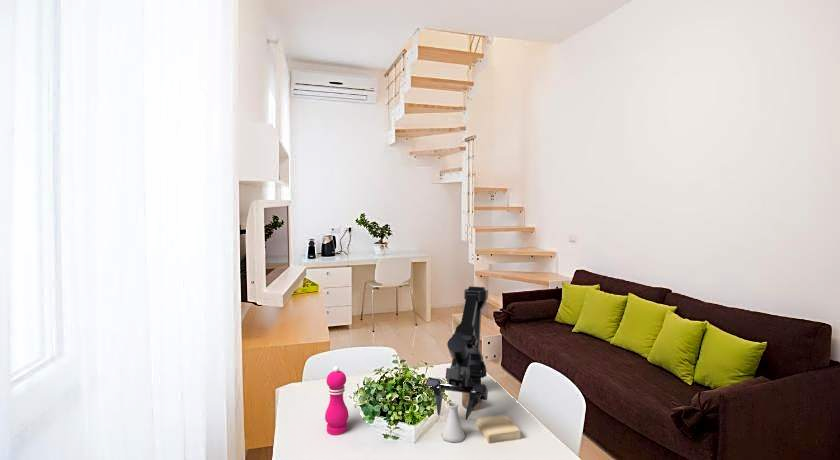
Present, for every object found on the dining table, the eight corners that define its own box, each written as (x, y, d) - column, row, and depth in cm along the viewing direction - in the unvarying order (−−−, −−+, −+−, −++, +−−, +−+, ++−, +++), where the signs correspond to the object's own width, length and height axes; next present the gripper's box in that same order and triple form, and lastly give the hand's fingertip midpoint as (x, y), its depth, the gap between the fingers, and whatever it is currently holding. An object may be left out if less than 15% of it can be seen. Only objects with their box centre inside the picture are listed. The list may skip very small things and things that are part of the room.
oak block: (476, 427, 129) (476, 418, 129) (505, 423, 131) (505, 414, 131) (489, 445, 119) (489, 435, 119) (520, 440, 122) (520, 430, 122)
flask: (464, 444, 119) (464, 411, 118) (439, 441, 120) (439, 408, 120) (466, 431, 126) (466, 399, 125) (443, 429, 127) (442, 397, 127)
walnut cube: (462, 406, 142) (462, 392, 142) (473, 402, 145) (473, 389, 145) (470, 412, 138) (470, 397, 138) (482, 408, 140) (482, 394, 140)
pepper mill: (325, 437, 123) (324, 372, 122) (324, 425, 130) (323, 363, 129) (349, 434, 125) (349, 369, 124) (347, 422, 131) (346, 361, 131)
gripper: (427, 352, 129) (416, 402, 119) (486, 358, 123) (480, 411, 113) (434, 367, 136) (424, 416, 126) (490, 374, 131) (484, 425, 121)
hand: (452, 417), depth 121 cm, fingers open, 8 cm apart
